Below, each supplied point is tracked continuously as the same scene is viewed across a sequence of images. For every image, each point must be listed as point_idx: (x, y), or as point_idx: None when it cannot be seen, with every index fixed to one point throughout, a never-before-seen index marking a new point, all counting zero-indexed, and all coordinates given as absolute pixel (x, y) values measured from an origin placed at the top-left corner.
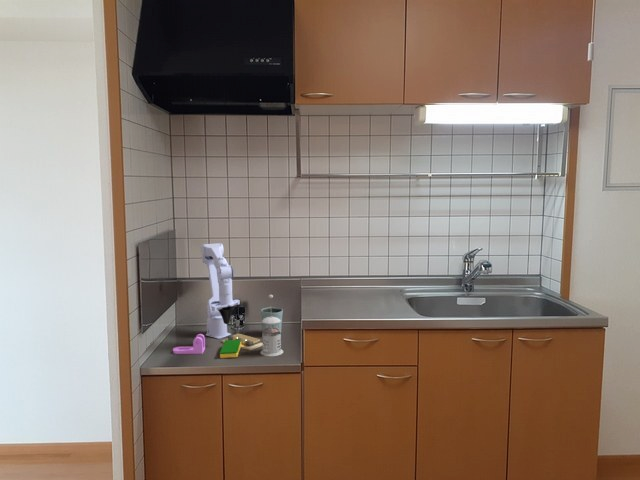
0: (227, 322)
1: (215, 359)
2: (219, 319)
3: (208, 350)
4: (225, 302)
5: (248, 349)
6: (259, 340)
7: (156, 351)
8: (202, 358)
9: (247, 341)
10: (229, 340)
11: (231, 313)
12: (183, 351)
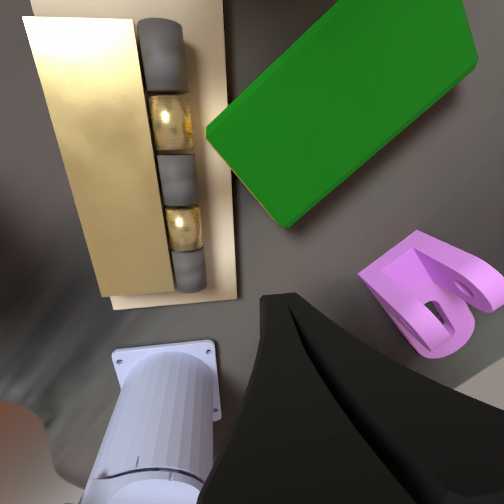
0: (301, 300)
1: (468, 85)
2: (181, 468)
3: (366, 243)
4: None
5: (222, 5)
6: (40, 20)
7: (464, 381)
8: (476, 168)
9: (176, 63)
10: (274, 198)
11: (264, 393)
12: (461, 299)
